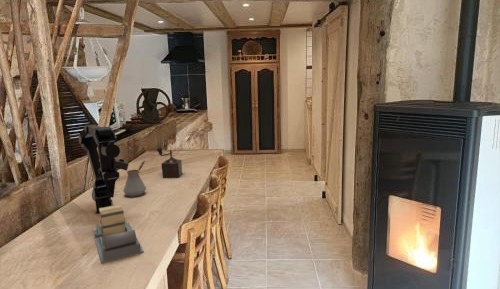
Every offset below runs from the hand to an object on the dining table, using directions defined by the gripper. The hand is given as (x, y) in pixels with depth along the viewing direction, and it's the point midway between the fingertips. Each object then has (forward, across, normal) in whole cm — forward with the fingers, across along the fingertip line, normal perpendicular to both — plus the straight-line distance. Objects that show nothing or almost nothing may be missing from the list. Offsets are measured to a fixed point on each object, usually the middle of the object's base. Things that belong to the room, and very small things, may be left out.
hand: (111, 191), depth 154 cm
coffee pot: (+11, +35, -18) cm, 41 cm away
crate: (+13, -15, +3) cm, 20 cm away
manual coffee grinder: (+9, +56, -41) cm, 70 cm away
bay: (+15, -23, +3) cm, 27 cm away
